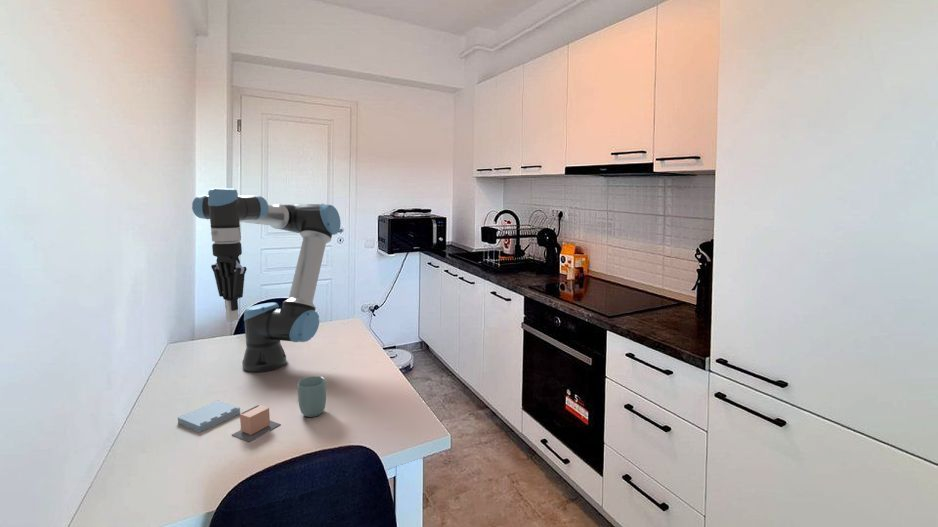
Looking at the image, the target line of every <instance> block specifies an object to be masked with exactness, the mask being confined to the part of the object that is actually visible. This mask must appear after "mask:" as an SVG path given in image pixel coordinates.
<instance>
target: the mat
mask: <svg viewBox="0 0 938 527" xmlns="http://www.w3.org/2000/svg"><path fill="white" fill-rule="evenodd" d="M279 426H281V423H280V422H279V423H278V422H275V421H273V420H270V425H269V426H267V427H265V428H263V429H261V430H259V431H258V432H256V433H254V434H252V435H250V434H247V433H244V432H242V431H241V429H240V430H238V431H236V432H234V433H232V434H231V436H232V437H234V438H237V439H240V440H242V441H245V442H247V443H251V442H252V441H254V440H256V439H258V438H259V437H261V436H263V435H266V433H269V432H270V431H272V430H274V429H276V428H278V427H279ZM268 431H269V432H268Z"/></svg>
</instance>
